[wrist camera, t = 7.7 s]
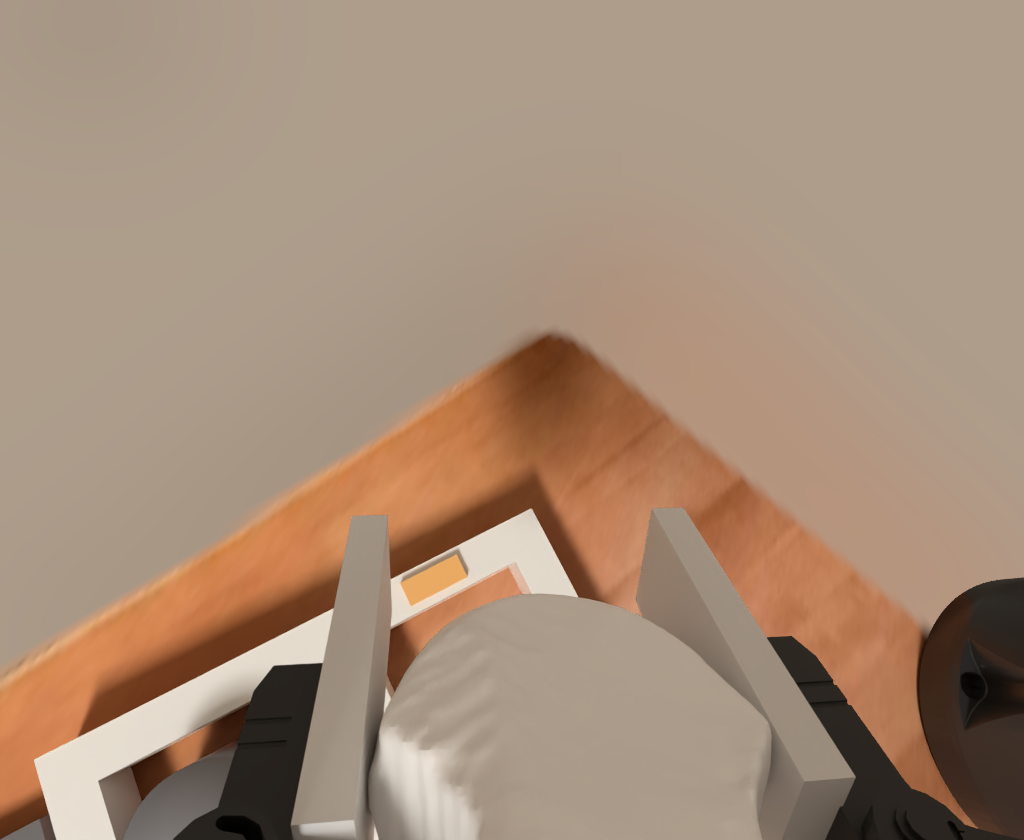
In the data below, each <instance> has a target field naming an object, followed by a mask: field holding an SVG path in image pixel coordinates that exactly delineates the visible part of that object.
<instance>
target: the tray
mask: <svg viewBox="0 0 1024 840" xmlns="http://www.w3.org/2000/svg"><path fill="white" fill-rule="evenodd" d="M0 840H56V837H55V833H54V830H53V826H52V822H51V819H50V815H49V814H48V815H46V816H44V817H42V818H40V819H38V820H36V821H34V822H32V823H30V824H28V825H26V826H25V827H23V828H21V829H19V830H17V831H15V832H13V833H11V834H9V835H8V836H6V837H4V838H2V839H0Z"/></svg>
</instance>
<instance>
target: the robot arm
mask: <svg viewBox="0 0 1024 840" xmlns="http://www.w3.org/2000/svg"><path fill="white" fill-rule="evenodd" d="M636 602H637V604H638V606H639V609H640V611H641V614H642V616H643V618H645V619H647V620H649V621H651V622H652V623H654V624H655V625H657V626H658V627H661V628H663V629H665V630H666V631H667V632H668V633H670V634H671V635H673V636H675V637H676V638H677V639H679V640H680V641H682V642H683V643H684V644H686V645H687V646H688V647H690V648H691V649H692V650H693V651H695V652H696V653H697V654H698V655H699V656H700V657H701V658H702V659H703V660H704V661H705V663H706V664H708V665H709V666H710V667H711V668H712V669H713V670H714V671H715V672H716V673H717V674H718V675H720V676H721V677H722V678H723V680H725V681H726V682H727V683H728V684H729V685H730V686H731V687H733V688H734V689H735V690H736V691H737V692H738V693H739V694H740V695H741V696H743V697H744V698H745V699H746V700H747V701H748V702H750V703H751V704H752V705H753V706H754V707H755V708H756V710H757V711H758V712H759V713H761V714H762V715H763V716H764V717H765V719H766V720H767V721H768V723H769V726H770V729H771V735H772V741H771V764H770V771H769V776H768V780H767V786H766V788H765V792H764V796H763V801H762V807H761V811H760V814H759V818H758V823H759V828H760V832H761V835H762V839H763V840H1024V578H1014V579H1003V580H996V581H990V582H986V583H983V584H980V585H977V586H975V587H973V588H971V589H969V590H967V591H966V592H964V593H962V594H961V595H959V596H958V597H957V598H955V599H954V600H953V601H952V602H951V603H950V604H949V605H948V606H947V607H946V608H945V610H944V611H943V612H942V613H941V615H940V616H939V618H938V619H937V621H936V622H935V624H934V626H933V628H932V630H931V632H930V634H929V637H928V639H927V642H926V645H925V648H924V652H923V656H922V661H921V668H920V680H919V694H920V706H921V714H922V719H923V725H924V729H925V733H926V737H927V740H928V743H929V746H930V750H931V752H932V755H933V757H934V760H935V762H936V765H937V767H938V769H939V771H940V773H941V775H942V777H943V779H944V781H945V783H946V785H947V786H948V788H949V790H950V792H951V793H952V795H953V796H954V798H955V799H956V801H957V802H958V804H959V805H960V807H961V808H962V809H963V811H964V812H965V813H966V815H967V816H968V817H969V818H970V819H971V821H972V822H973V823H974V824H975V825H976V826H977V827H978V828H979V829H976V828H973V827H970V826H967V825H964V824H963V822H961V821H960V820H959V819H958V818H957V817H956V816H955V815H954V814H953V813H952V812H951V811H950V810H949V809H948V808H947V807H946V806H945V805H943V804H941V803H940V802H938V801H937V800H935V799H933V798H932V797H930V796H929V795H927V794H925V793H922V792H920V791H917V790H914V789H911V788H910V786H909V785H908V784H907V783H906V782H905V781H904V779H903V778H902V777H901V775H900V774H899V772H898V771H897V770H896V768H895V767H894V765H893V764H892V762H891V761H890V760H889V758H888V757H887V755H886V754H885V753H884V751H883V750H882V748H881V747H880V746H879V744H878V743H877V741H876V740H875V739H874V737H873V736H872V734H871V733H870V731H869V730H868V729H867V727H866V726H865V724H864V723H863V722H862V720H861V719H860V717H859V716H858V715H857V713H856V712H855V710H854V709H853V708H852V706H851V705H848V703H847V699H846V698H845V696H844V695H843V693H842V692H841V691H840V689H839V688H838V686H837V685H834V684H833V679H832V678H831V677H830V675H829V674H828V672H827V671H826V669H825V668H824V667H823V665H822V664H821V662H820V661H819V660H818V658H817V657H816V656H815V655H814V654H813V653H811V652H810V651H809V650H808V649H807V648H805V647H804V646H803V645H802V644H800V643H799V642H798V641H797V640H796V639H794V638H793V637H792V636H785V637H766V636H765V634H764V633H763V631H762V630H761V628H760V627H759V625H758V624H757V622H756V620H755V619H754V617H753V616H752V614H751V613H750V611H749V609H748V608H747V606H746V605H745V603H744V602H743V600H742V599H741V597H740V595H739V594H738V592H737V591H736V589H735V588H734V586H733V584H732V583H731V581H730V580H729V578H728V577H727V575H726V574H725V572H724V570H723V569H722V567H721V566H720V564H719V563H718V561H717V559H716V558H715V556H714V555H713V553H712V552H711V550H710V549H709V547H708V545H707V544H706V542H705V541H704V539H703V538H702V536H701V534H700V533H699V531H698V530H697V528H696V527H695V525H694V524H693V522H692V520H691V519H690V517H689V516H688V514H687V513H686V511H685V509H684V508H652V510H651V516H650V522H649V527H648V533H647V539H646V544H645V550H644V556H643V561H642V567H641V573H640V578H639V584H638V590H637V595H636ZM391 617H392V600H391V578H390V556H389V534H388V515H368V516H352V519H351V524H350V529H349V534H348V539H347V544H346V549H345V554H344V559H343V564H342V569H341V574H340V579H339V584H338V589H337V594H336V600H335V605H334V610H333V615H332V620H331V625H330V630H329V635H328V640H327V645H326V650H325V655H324V660H323V663H311V664H292V665H274V666H273V667H272V668H271V670H270V671H269V672H268V673H267V675H266V676H265V677H264V678H263V680H262V681H261V682H260V683H259V685H258V686H257V687H256V689H255V690H254V691H253V695H252V698H251V701H250V704H249V708H248V711H247V714H246V717H245V724H244V725H243V727H242V730H241V734H240V737H239V740H238V743H237V744H238V746H237V749H236V750H235V753H234V756H233V759H232V763H231V766H230V769H229V772H228V776H227V779H226V782H225V785H224V788H223V792H222V795H221V798H220V801H219V805H218V808H216V809H214V810H212V811H210V812H208V813H206V814H204V815H202V816H200V817H198V818H196V819H194V820H193V821H192V822H191V823H190V824H189V825H188V826H186V827H185V828H184V829H183V830H182V831H181V832H180V833H179V834H178V835H177V836H175V837H174V839H173V840H374V829H375V824H374V820H373V816H372V813H371V810H370V806H369V795H368V777H369V771H370V768H371V765H372V762H373V758H374V754H375V749H376V742H377V736H378V732H379V729H380V725H381V721H382V718H383V715H384V704H385V692H386V679H387V667H388V654H389V642H390V629H391Z"/></svg>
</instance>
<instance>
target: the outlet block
mask: <svg viewBox="0 0 1024 840" xmlns="http://www.w3.org/2000/svg"><path fill="white" fill-rule="evenodd" d="M508 567H509V569H510V571H511V573H512V575H513V577H514V579H515V581H516V583H517V585H518V587H519V589H520V591H521V593H522V594H556V595H566V596H573V597H578V595H577V594H576V592H575V590H574V588H573V586H572V584H571V582H570V580H569V578H568V576H567V575H566V573H565V571H564V569H563V567H562V565H561V563H560V561H559V559H558V558H557V556H556V554H555V552H554V550H553V548H552V546H551V544H550V542H549V540H548V539H547V537H546V535H545V533H544V531H543V529H542V527H541V525H540V523H539V521H538V520H537V518H536V516H535V514H534V512H533V510H532V508H531V509H529V510H527V511H525V512H523V513H521V514H519V515H517V516H515V517H513V518H511V519H509V520H507V521H505V522H503V523H501V524H499V525H497V526H495V527H493V528H491V529H489V530H487V531H485V532H483V533H481V534H479V535H477V536H475V537H473V538H472V539H470V540H468V541H466V542H464V543H462V544H460V545H458V546H456V547H454V548H452V549H450V550H448V551H446V552H444V553H442V554H440V555H438V556H436V557H434V558H432V559H430V560H428V561H426V562H424V563H422V564H420V565H418V566H416V567H414V568H412V569H410V570H408V571H406V572H404V573H402V574H400V575H398V576H396V577H394V578H392V579H391V600H392V617H391V629H393V628H394V627H396V626H398V625H400V624H402V623H404V622H406V621H408V620H410V619H412V618H413V617H415V616H417V615H419V614H421V613H423V612H425V611H427V610H429V609H431V608H432V607H434V606H436V605H438V604H440V603H442V602H444V601H446V600H448V599H449V598H451V597H453V596H455V595H457V594H459V593H461V592H463V591H465V590H467V589H468V588H470V587H472V586H474V585H476V584H478V583H480V582H482V581H484V580H485V579H487V578H489V577H491V576H493V575H495V574H497V573H499V572H501V571H503V570H504V569H506V568H508ZM333 610H334V608H333V609H331V610H329V611H327V612H325V613H323V614H321V615H319V616H317V617H315V618H313V619H311V620H309V621H307V622H305V623H303V624H301V625H299V626H297V627H296V628H294V629H292V630H290V631H288V632H286V633H284V634H282V635H280V636H278V637H276V638H274V639H272V640H270V641H268V642H266V643H264V644H262V645H260V646H258V647H256V648H254V649H252V650H250V651H248V652H246V653H244V654H242V655H240V656H238V657H236V658H234V659H232V660H230V661H228V662H226V663H224V664H222V665H220V666H218V667H216V668H214V669H212V670H210V671H208V672H207V673H205V674H203V675H201V676H199V677H197V678H195V679H193V680H191V681H189V682H187V683H185V684H183V685H181V686H179V687H177V688H175V689H173V690H171V691H169V692H167V693H165V694H163V695H161V696H159V697H157V698H155V699H153V700H151V701H149V702H147V703H145V704H143V705H141V706H139V707H137V708H135V709H133V710H131V711H129V712H127V713H125V714H123V715H121V716H119V717H118V718H116V719H114V720H112V721H110V722H108V723H106V724H104V725H102V726H100V727H98V728H96V729H94V730H92V731H90V732H88V733H86V734H84V735H82V736H80V737H78V738H76V739H74V740H72V741H70V742H68V743H66V744H64V745H62V746H60V747H58V748H56V749H54V750H52V751H50V752H48V753H46V754H44V755H42V756H40V757H38V758H36V759H34V762H35V766H36V769H37V773H38V776H39V780H40V783H41V787H42V790H43V794H44V798H45V801H46V805H47V808H48V812H49V815H50V819H51V822H52V826H53V830H54V833H55V837H56V840H173V839H174V837H175V836H177V835H178V834H179V833H180V832H181V831H182V830H183V829H184V828H185V827H186V826H188V825H189V824H190V823H191V822H192V821H193V820H194V819H196V818H198V817H200V816H202V815H204V814H206V813H208V812H210V811H212V810H214V809H216V808H218V805H219V801H220V798H221V795H222V792H223V788H224V785H225V782H226V779H227V776H228V772H229V769H230V766H231V763H232V759H233V756H234V753H235V750H236V749H237V746H238V744H237V743H238V741H235V742H232V743H230V744H228V745H226V746H224V747H222V748H220V749H218V750H216V751H214V752H213V753H211V754H209V755H207V756H205V757H203V758H201V759H199V760H198V761H196V762H194V763H192V764H190V765H188V766H186V767H184V768H183V769H181V770H179V771H177V772H175V773H174V774H172V775H170V776H169V777H167V778H166V779H164V780H163V781H162V782H161V783H159V784H158V785H157V786H156V787H155V788H154V789H153V790H152V791H151V792H150V793H149V794H148V795H147V796H146V797H145V799H144V800H143V801H142V800H141V797H140V793H139V790H138V787H137V784H136V781H135V778H134V775H133V771H132V768H131V766H133V765H135V764H137V763H138V762H140V761H142V760H144V759H146V758H148V757H150V756H152V755H154V754H156V753H157V752H159V751H161V750H163V749H165V748H167V747H169V746H171V745H173V744H175V743H176V742H178V741H180V740H182V739H184V738H186V737H188V736H190V735H192V734H193V733H195V732H197V731H199V730H201V729H203V728H205V727H207V726H209V725H211V724H212V723H214V722H216V721H218V720H220V719H222V718H224V717H226V716H228V715H230V714H231V713H233V712H235V711H237V710H239V709H241V708H243V707H245V706H247V705H248V704H250V701H251V698H252V695H253V691H254V690H255V689H256V687H257V686H258V685H259V683H260V682H261V681H262V680H263V678H264V677H265V676H266V675H267V673H268V672H269V671H270V670H271V668H272V667H273V666H274V665H292V664H311V663H323V660H324V655H325V650H326V645H327V640H328V635H329V630H330V625H331V620H332V615H333ZM391 629H390V630H391ZM394 693H395V692H394V690H393V687H392V685H391V683H390V680H389V678H388V676H387V679H386V692H385V704H384V713H385V710H386V708H387V706H388V704H389V702H390V700H391V698H392V696H393V695H394ZM374 840H379V838H378V834H377V831H376V828H375V829H374Z"/></svg>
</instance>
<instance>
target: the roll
mask: <svg viewBox="0 0 1024 840" xmlns="http://www.w3.org/2000/svg"><path fill="white" fill-rule="evenodd" d="M771 741H772V735H771V729H770V726H769V723H768V721H767V720H766V719H765V717H764V716H763V715H762V714H761V713H759V712H758V711H757V710H756V708H755V707H754V706H753V705H752V704H751V703H750V702H748V701H747V700H746V699H745V698H744V697H743V696H741V695H740V694H739V693H738V692H737V691H736V690H735V689H734V688H733V687H731V686H730V685H729V684H728V683H727V682H726V681H725V680H723V678H722V677H721V676H720V675H718V674H717V673H716V672H715V671H714V670H713V669H712V668H711V667H710V666H709V665H708V664H706V663H705V661H704V660H703V659H702V658H701V657H700V656H699V655H698V654H697V653H696V652H695V651H693V650H692V649H691V648H690V647H688V646H687V645H686V644H684V643H683V642H682V641H680V640H679V639H677V638H676V637H675V636H673V635H671V634H670V633H668V632H667V631H666V630H665V629H663V628H661V627H658V626H657V625H655V624H654V623H652V622H651V621H649V620H647V619H645V618H643V617H641V616H639V615H637V614H634V613H632V612H630V611H628V610H625V609H623V608H621V607H617V606H614V605H610V604H606V603H603V602H600V601H595V600H591V599H586V598H579V597H573V596H566V595H556V594H521V595H515V596H512V597H508V598H503V599H499V600H497V601H494V602H491V603H488V604H485V605H482V606H480V607H478V608H475V609H473V610H471V611H469V612H467V613H465V614H463V615H461V616H459V617H458V618H456V619H455V620H453V621H452V622H450V623H449V624H447V625H446V626H445V627H444V628H442V629H441V630H440V631H439V632H438V633H437V634H435V635H434V636H433V637H432V638H431V639H430V641H429V642H428V643H427V644H426V645H425V647H424V648H423V649H422V651H421V652H420V653H419V654H418V655H417V657H416V658H415V659H414V661H413V662H412V663H411V665H410V666H409V668H408V669H407V670H406V672H405V674H404V676H403V678H402V680H401V681H400V683H399V685H398V687H397V689H396V691H395V693H394V695H393V696H392V698H391V700H390V702H389V704H388V706H387V708H386V710H385V713H384V715H383V718H382V721H381V725H380V729H379V732H378V736H377V742H376V749H375V754H374V758H373V762H372V765H371V768H370V771H369V777H368V795H369V806H370V810H371V813H372V816H373V820H374V824H375V828H376V831H377V834H378V838H379V840H763V839H762V835H761V832H760V828H759V823H758V818H759V814H760V811H761V807H762V801H763V796H764V792H765V788H766V786H767V780H768V776H769V771H770V764H771Z"/></svg>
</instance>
